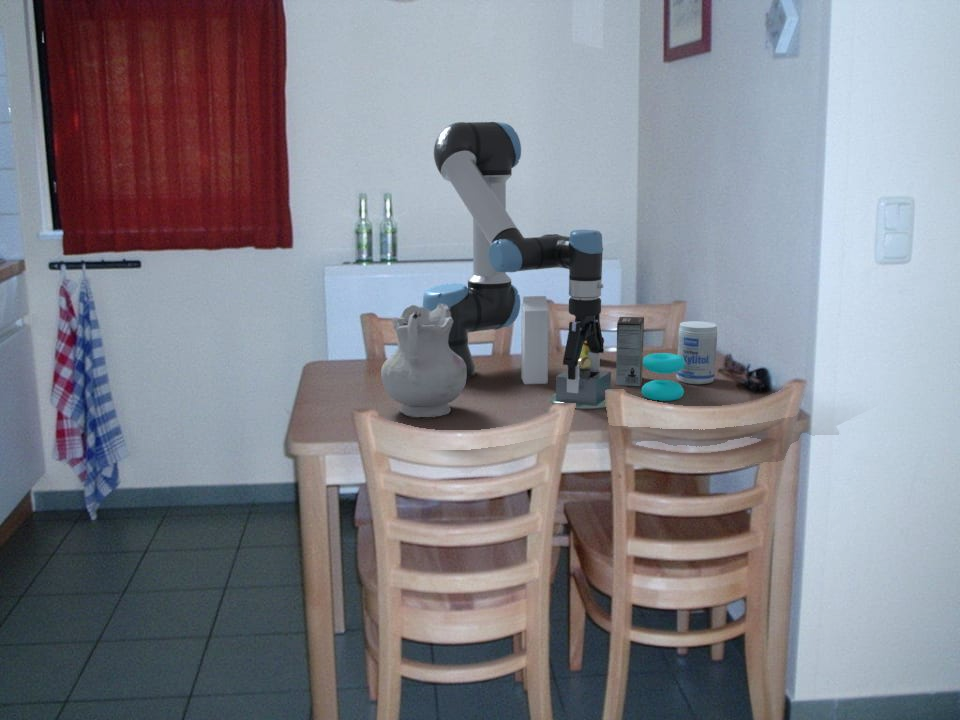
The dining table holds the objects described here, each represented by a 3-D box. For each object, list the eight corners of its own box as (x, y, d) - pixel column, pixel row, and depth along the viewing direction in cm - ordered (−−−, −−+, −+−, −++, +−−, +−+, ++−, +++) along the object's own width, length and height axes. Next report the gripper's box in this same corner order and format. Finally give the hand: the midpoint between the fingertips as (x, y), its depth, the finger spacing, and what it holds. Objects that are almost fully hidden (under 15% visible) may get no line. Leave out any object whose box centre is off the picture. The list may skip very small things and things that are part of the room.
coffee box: (617, 376, 262) (619, 316, 259) (642, 377, 261) (644, 316, 258) (615, 385, 254) (616, 322, 250) (641, 386, 252) (642, 323, 249)
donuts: (690, 360, 236) (648, 361, 235) (688, 401, 238) (646, 402, 237) (678, 351, 246) (638, 352, 245) (677, 391, 248) (637, 392, 247)
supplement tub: (681, 385, 253) (683, 327, 250) (672, 376, 262) (674, 320, 259) (719, 385, 253) (722, 327, 250) (709, 376, 263) (712, 320, 259)
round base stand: (539, 404, 237) (539, 360, 234) (564, 388, 251) (565, 347, 248) (603, 412, 230) (604, 367, 227) (626, 395, 244) (627, 353, 241)
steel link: (555, 401, 238) (556, 376, 237) (571, 391, 247) (571, 367, 245) (596, 405, 233) (596, 380, 232) (610, 395, 242) (611, 371, 241)
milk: (547, 384, 256) (548, 298, 251) (524, 384, 255) (524, 298, 250) (543, 378, 262) (545, 294, 257) (520, 378, 261) (521, 294, 256)
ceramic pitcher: (467, 429, 221) (475, 317, 216) (378, 425, 219) (384, 312, 214) (461, 404, 242) (468, 301, 237) (379, 400, 240) (385, 296, 235)
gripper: (580, 306, 222) (579, 400, 227) (618, 290, 244) (615, 375, 249) (549, 304, 225) (548, 396, 230) (588, 288, 247) (587, 372, 252)
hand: (583, 385), depth 239 cm, fingers open, 13 cm apart
